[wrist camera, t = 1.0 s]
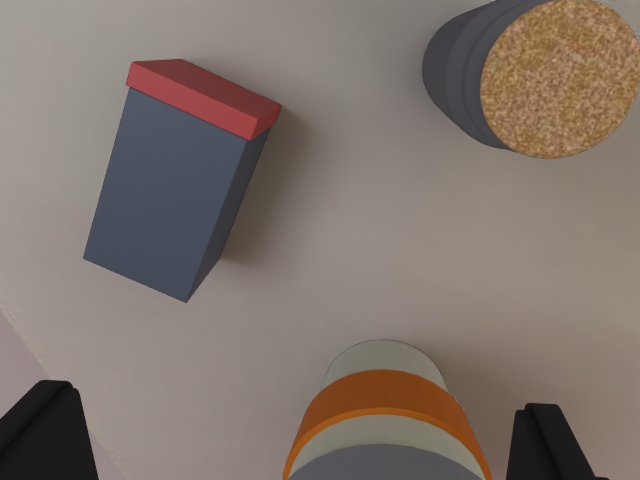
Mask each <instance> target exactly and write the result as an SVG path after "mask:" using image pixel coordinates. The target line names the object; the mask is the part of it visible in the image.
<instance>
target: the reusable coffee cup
mask: <svg viewBox="0 0 640 480" xmlns="http://www.w3.org/2000/svg"><path fill="white" fill-rule="evenodd" d="M283 480H492V477H491V474H490V471H489V467H488V465H487V462H486V460H485V458H484V456H483V453H482V451H481V449H480V447H479V445H478V442H477V440H476V438H475V436H474V433H473V431H472V429H471V427H470V424H469V422H468V420H467V418H466V416H465V414H464V412H463V411H462V409H461V407H460V406H459V404H458V403H457V402H456V401H455V400H454V399H453V398H452V397H451V395H450V394H449V392H448V390H447V388H446V385H445V383H444V381H443V378H442V376H441V374H440V372H439V370H438V369H437V367H436V365H435V364H434V363H433V362H432V361H431V360H430V358H429V357H428V356H426V355H425V354H424V353H422V352H421V351H420V350H418V349H416V348H414V347H412V346H410V345H408V344H404V343H401V342H397V341H390V340H374V341H368V342H364V343H360V344H357V345H355V346H353V347H351V348H349V349H347V350H346V351H344V352H343V353H342V354H340V355H339V356H338V357H337V358H336V359H335V360H334V362H333V363H332V364H331V366H330V368H329V369H328V371H327V374H326V376H325V379H324V382H323V384H322V387H321V390H320V393H319V394H318V395H317V396H316V397H315V398H314V399H313V400H312V402H311V404H310V405H309V407H308V409H307V410H306V412H305V415H304V417H303V420H302V422H301V425H300V428H299V430H298V433H297V435H296V438H295V440H294V443H293V446H292V448H291V451H290V453H289V456H288V458H287V462H286V465H285V469H284V472H283Z"/></svg>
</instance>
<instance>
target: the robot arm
mask: <svg viewBox="0 0 640 480" xmlns="http://www.w3.org/2000/svg"><path fill="white" fill-rule="evenodd" d="M0 480H99V479H98V474H97V470H96V465H95V461H94V457H93V452H92V447H91V443H90V439H89V434H88V429H87V425H86V420H85V416H84V411H83V407H82V402H81V398H80V394H79V391H78V390H77V389H76V388H73V386H72V384H71V383H70V382H68V381H57V380H42V381H39V382H38V383H36V384H35V385H34V386H33V387H32V388H31V389H30V390H29V391H28V392H27V393H26V394H25V395H24V396H23V397H22V398H21V399H20V400H19V401H18V402H17V403H16V404H15V405H14V406H13V407H12V408H11V409H10V410H9V411H8V412H7V413H6V414H5V415H4V416H3V417H2V418H1V419H0ZM506 480H609V479H608V478H604V477H595V475H594V473H593V471H592V469H591V467H590V465H589V463H588V461H587V459H586V458H585V456H584V454H583V452H582V450H581V448H580V446H579V444H578V442H577V440H576V438H575V436H574V434H573V432H572V430H571V428H570V426H569V424H568V423H567V421H566V419H565V417H564V415H563V413H562V411H561V409H560V408H559V406H558V405H556V404H540V403H527V404H526V406H525V409H524V410H517V411H516V413H515V418H514V426H513V433H512V440H511V447H510V454H509V462H508V469H507V476H506Z"/></svg>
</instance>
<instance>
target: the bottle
mask: <svg viewBox="0 0 640 480" xmlns="http://www.w3.org/2000/svg"><path fill="white" fill-rule="evenodd" d="M422 72H423V81H424V85H425V88H426V90H427V92H428V94H429V96H430V98H431V99H432V101H433V102H434V103H435V104H436V105H437V106H438V108H439V109H441V110H442V111H443V112H444V113H445V114H446V115H447V116H448V117H449V118H450V119H451V120H452V121H453V122H454V123H455V124H456V125H457V126H459V127H460V128H461V129H462V130H463V131H464V132H465V133H467V134H468V135H469V136H471V137H472V138H474V139H475V140H477V141H479V142H481V143H483V144H485V145H488V146H491V147H495V148H500V149H507V150H510V151H513V152H518V153H521V154H524V155H527V156H530V157H534V158H542V159H551V158H562V157H567V156H572V155H575V154H577V153H580V152H583V151H585V150H587V149H589V148H591V147H593V146H595V145H596V144H598V143H599V142H601V141H602V140H604V139H605V138H606V137H607V136H608V135H609V134H611V133H612V132H613V131H614V130H615V129H616V128H617V127H618V126H619V124H620V123H621V122H622V120H623V119H624V118H625V117H626V115H627V113H628V112H629V110H630V108H631V106H632V104H633V102H634V100H635V98H636V95H637V92H638V89H639V85H640V49H639V45H638V42H637V39H636V37H635V35H634V33H633V31H632V30H631V28H630V26H629V25H628V24H627V23H626V22H625V20H624V19H623V18H622V17H621V16H620V15H618V14H617V13H616V12H615V11H614V10H612V9H610V8H608V7H607V6H605V5H603V4H601V3H598V2H594V1H591V0H496V1H494V2H491V3H489V4H486V5H484V6H481V7H478V8H476V9H473V10H471V11H468V12H466V13H463V14H461V15H459V16H457V17H455V18H453V19H451V20H450V21H449V22H447V23H446V24H445V25H443V26H442V27H441V28H440V29H439V30H438V31H437V32H436V34H435V35H434V36H433V38H432V39H431V41H430V43H429V45H428V47H427V49H426V52H425V55H424V59H423V67H422Z"/></svg>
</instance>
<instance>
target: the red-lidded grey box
mask: <svg viewBox="0 0 640 480" xmlns="http://www.w3.org/2000/svg"><path fill="white" fill-rule="evenodd" d="M126 85H127V86H129V87H130V88H129V92H128V96H127V99H126V103H125V106H124V110H123V114H122V117H121V121H120V125H119V128H118V132H117V136H116V139H115V143H114V147H113V150H112V154H111V157H110V161H109V165H108V168H107V172H106V176H105V179H104V183H103V187H102V190H101V194H100V198H99V201H98V205H97V208H96V212H95V216H94V219H93V223H92V227H91V230H90V234H89V238H88V241H87V245H86V249H85V252H84V256H83V259H85V260H88V261H90V262H92V263H94V264H97V265H99V266H101V267H104V268H106V269H108V270H111V271H113V272H115V273H118V274H120V275H122V276H125V277H127V278H129V279H132V280H134V281H136V282H139V283H141V284H143V285H146V286H148V287H150V288H153V289H155V290H157V291H160V292H162V293H164V294H167V295H169V296H171V297H173V298H176V299H178V300H180V301H183V302H185V303H187V302H188V300H189V299H190V298H191V296H192V295H193V294H194V292H195V291H196V289H197V288H198V287H199V285H200V284H201V283H202V281H203V280H204V279H205V277H206V276H207V275H208V273H209V272H210V271H211V269H212V268H213V267H214V265H215V264H216V263H217V261H218V260H219V258H220V255H221V252H222V250H223V247H224V245H225V242H226V240H227V237H228V235H229V232H230V229H231V227H232V224H233V222H234V219H235V217H236V214H237V212H238V209H239V206H240V204H241V201H242V199H243V196H244V194H245V191H246V188H247V186H248V183H249V181H250V178H251V176H252V173H253V171H254V168H255V165H256V163H257V160H258V158H259V155H260V153H261V150H262V148H263V145H264V142H265V140H266V137H267V135H268V132H269V130H270V127H271V125H273V124H274V123H275V121H276V119H277V116H278V114H279V111H280V108H281V105H280V104H278V103H276V102H274V101H271V100H269V99H267V98H265V97H263V96H261V95H258V94H256V93H254V92H252V91H250V90H247V89H245V88H243V87H241V86H239V85H236V84H234V83H232V82H230V81H228V80H226V79H223V78H221V77H219V76H217V75H215V74H212V73H210V72H208V71H206V70H204V69H202V68H199V67H197V66H195V65H193V64H191V63H188V62H186V61H184V60H182V59H172V60H154V61H136V62H132V63H131V67H130V71H129V74H128V78H127V82H126Z"/></svg>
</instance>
